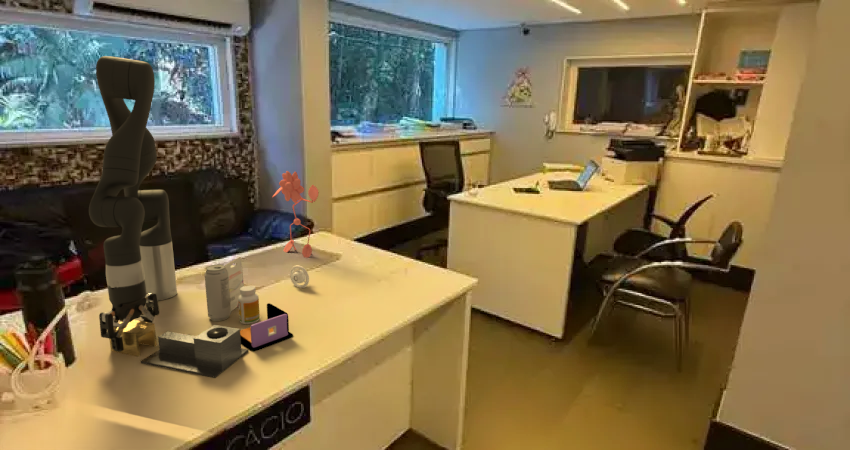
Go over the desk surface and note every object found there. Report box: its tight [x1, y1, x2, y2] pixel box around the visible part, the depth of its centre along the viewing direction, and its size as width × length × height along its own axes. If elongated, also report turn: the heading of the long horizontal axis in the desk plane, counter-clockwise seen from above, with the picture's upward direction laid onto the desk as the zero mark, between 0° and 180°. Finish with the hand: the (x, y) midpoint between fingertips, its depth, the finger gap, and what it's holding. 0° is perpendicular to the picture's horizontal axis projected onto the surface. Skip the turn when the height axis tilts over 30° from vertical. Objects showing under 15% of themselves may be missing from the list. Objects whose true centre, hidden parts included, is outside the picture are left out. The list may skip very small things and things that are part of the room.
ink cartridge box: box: [224, 256, 245, 312], centre depth 136 cm, size 9×5×15 cm, turn 170°
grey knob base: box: [140, 324, 249, 379], centre depth 109 cm, size 20×12×8 cm, turn 75°
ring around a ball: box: [289, 264, 310, 289], centre depth 154 cm, size 8×6×8 cm
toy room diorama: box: [240, 302, 294, 353], centre depth 120 cm, size 12×12×7 cm
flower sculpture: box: [272, 170, 320, 259], centre depth 178 cm, size 15×26×35 cm, turn 57°
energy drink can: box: [204, 264, 232, 322], centre depth 129 cm, size 6×6×15 cm
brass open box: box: [108, 319, 158, 357], centre depth 112 cm, size 8×6×6 cm
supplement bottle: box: [237, 285, 261, 325], centre depth 128 cm, size 5×5×10 cm
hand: (134, 342), depth 112 cm, fingers open, 8 cm apart
